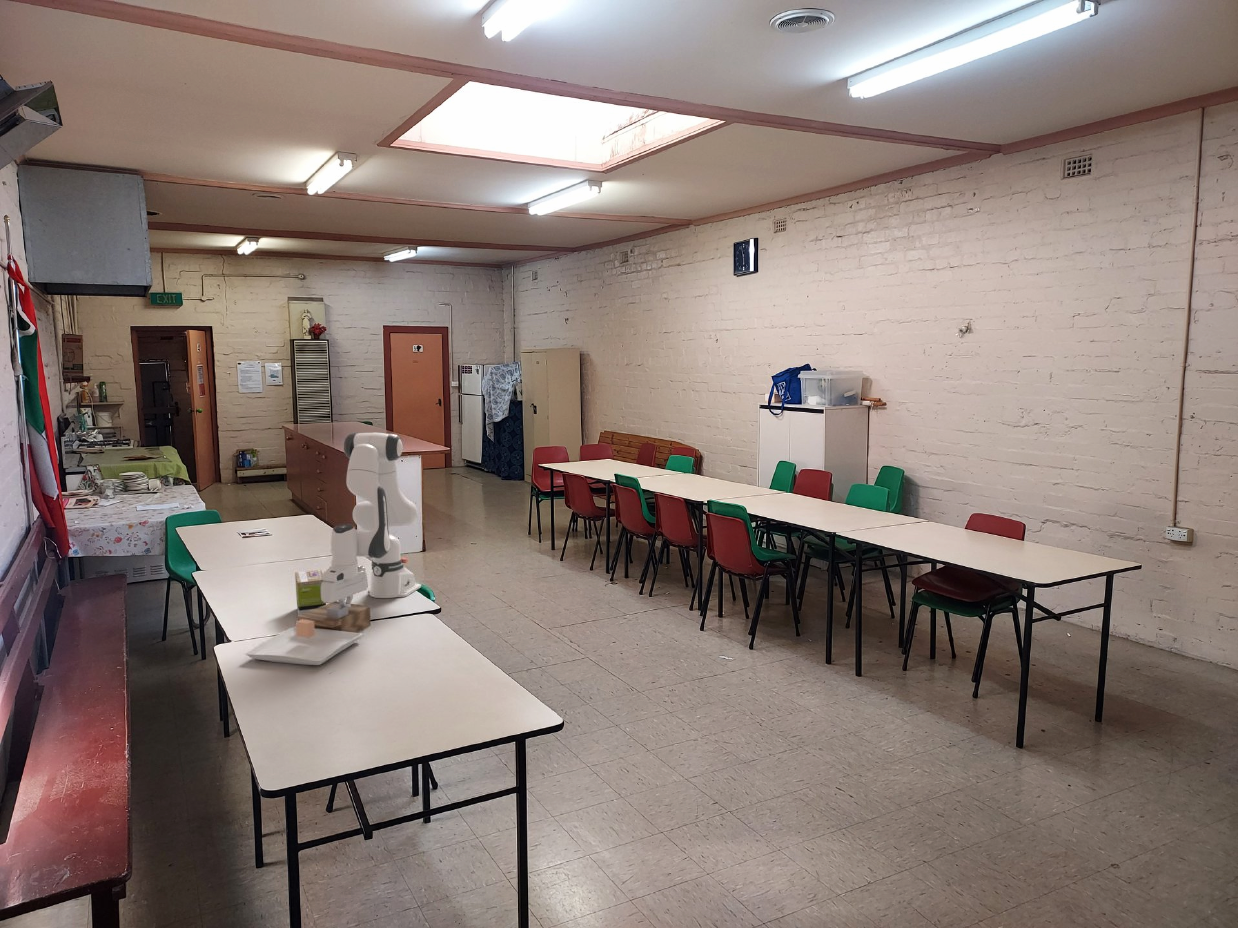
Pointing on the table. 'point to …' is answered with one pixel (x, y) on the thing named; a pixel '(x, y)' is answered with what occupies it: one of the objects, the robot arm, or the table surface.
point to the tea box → (308, 590)
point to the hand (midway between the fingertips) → (345, 608)
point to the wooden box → (349, 623)
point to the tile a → (305, 628)
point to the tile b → (337, 611)
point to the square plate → (304, 646)
